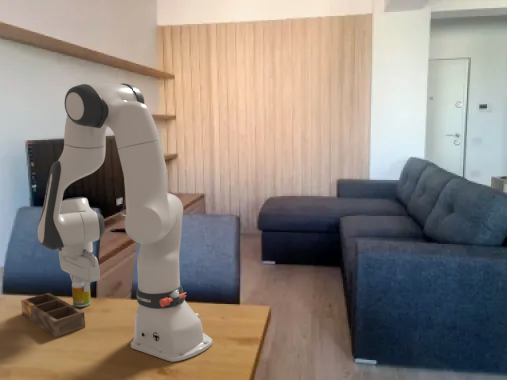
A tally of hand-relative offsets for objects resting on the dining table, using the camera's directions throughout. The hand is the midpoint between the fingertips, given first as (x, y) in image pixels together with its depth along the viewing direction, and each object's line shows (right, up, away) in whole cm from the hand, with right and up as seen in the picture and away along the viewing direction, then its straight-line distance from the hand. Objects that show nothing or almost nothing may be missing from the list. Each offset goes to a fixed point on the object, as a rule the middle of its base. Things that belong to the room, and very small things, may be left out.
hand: (81, 288), depth 148 cm
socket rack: (-4, -7, -11) cm, 14 cm away
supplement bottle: (0, -5, +1) cm, 5 cm away
